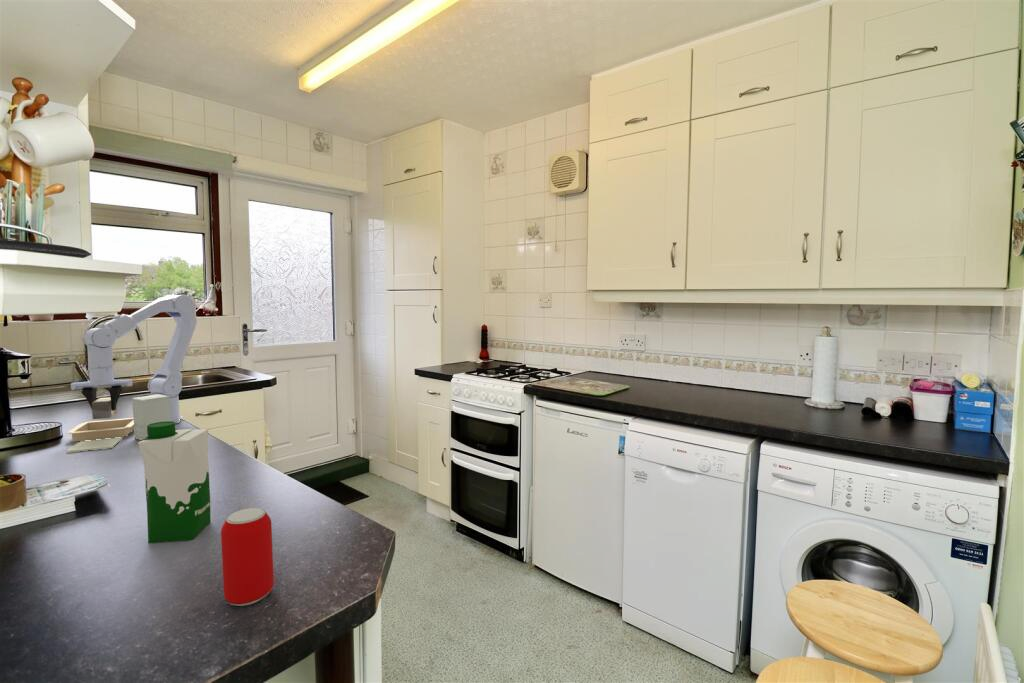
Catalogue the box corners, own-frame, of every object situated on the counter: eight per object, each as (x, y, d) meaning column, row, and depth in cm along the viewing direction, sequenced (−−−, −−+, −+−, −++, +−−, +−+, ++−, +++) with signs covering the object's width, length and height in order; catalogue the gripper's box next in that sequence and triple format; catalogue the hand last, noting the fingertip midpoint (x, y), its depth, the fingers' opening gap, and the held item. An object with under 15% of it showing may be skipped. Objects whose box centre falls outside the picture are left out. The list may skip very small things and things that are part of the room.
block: (101, 413, 154) (100, 398, 153) (117, 412, 155) (115, 397, 155) (92, 419, 146) (91, 402, 146) (109, 417, 148) (108, 401, 148)
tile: (79, 443, 142) (79, 441, 142) (122, 439, 146) (122, 437, 146) (66, 453, 133) (66, 451, 133) (112, 448, 137) (112, 446, 137)
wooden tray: (83, 431, 155) (83, 422, 155) (142, 425, 162) (141, 417, 161) (65, 443, 141) (64, 433, 141) (130, 437, 148) (129, 427, 148)
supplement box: (173, 436, 149) (170, 396, 148) (144, 442, 143) (142, 400, 142) (161, 433, 153) (159, 393, 152) (133, 438, 147) (131, 397, 146)
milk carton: (166, 523, 91) (160, 418, 89) (218, 519, 93) (213, 416, 91) (138, 546, 83) (131, 431, 81) (197, 542, 84) (190, 428, 82)
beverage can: (214, 603, 67) (209, 519, 66) (254, 580, 73) (250, 502, 72) (245, 615, 65) (240, 528, 64) (283, 589, 70) (280, 509, 69)
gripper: (65, 370, 143) (69, 415, 144) (127, 367, 149) (130, 410, 150) (74, 367, 149) (77, 410, 150) (133, 364, 155) (135, 406, 156)
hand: (104, 410), depth 150 cm, fingers closed on block, 4 cm apart
